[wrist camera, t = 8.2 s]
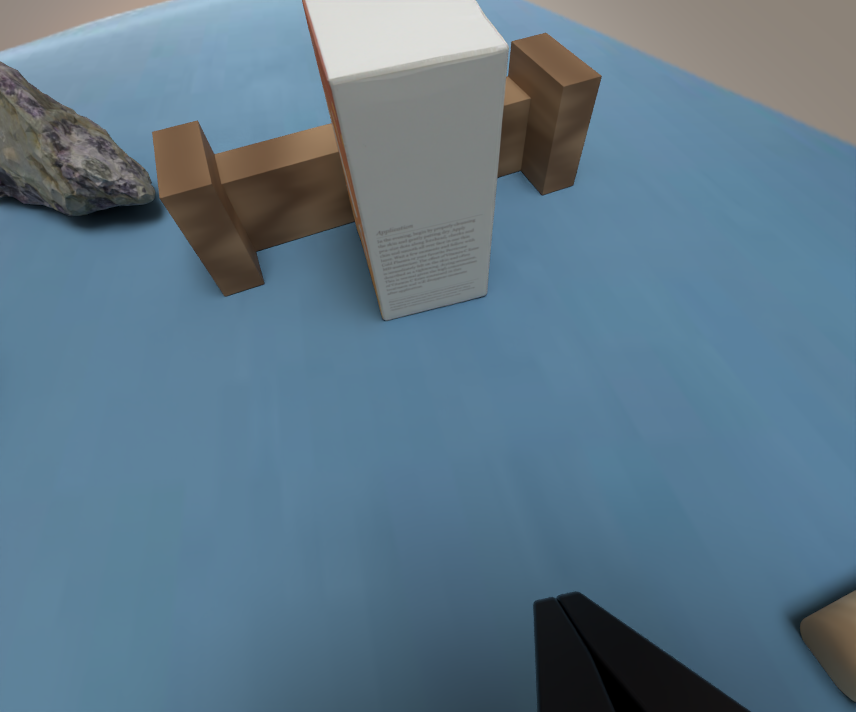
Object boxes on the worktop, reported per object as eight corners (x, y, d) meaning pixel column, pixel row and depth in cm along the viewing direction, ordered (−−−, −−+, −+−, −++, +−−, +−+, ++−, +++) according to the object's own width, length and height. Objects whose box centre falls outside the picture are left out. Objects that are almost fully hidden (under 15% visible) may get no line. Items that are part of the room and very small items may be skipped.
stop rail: (224, 296, 27) (159, 198, 21) (212, 233, 30) (152, 131, 24) (573, 185, 31) (601, 75, 25) (529, 139, 34) (546, 32, 28)
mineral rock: (175, 222, 31) (69, 62, 22) (6, 291, 28) (-189, 139, 19) (132, 135, 37) (36, -16, 28) (-10, 185, 34) (-163, 34, 26)
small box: (355, 230, 29) (296, -18, 18) (448, 209, 30) (445, -42, 19) (381, 325, 25) (324, 77, 14) (489, 298, 26) (516, 41, 15)
